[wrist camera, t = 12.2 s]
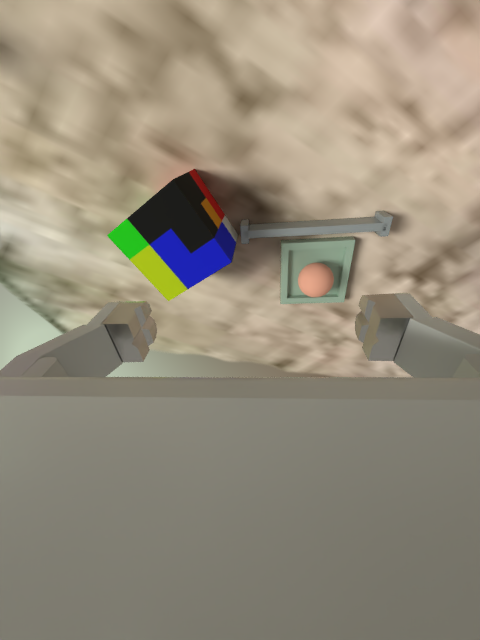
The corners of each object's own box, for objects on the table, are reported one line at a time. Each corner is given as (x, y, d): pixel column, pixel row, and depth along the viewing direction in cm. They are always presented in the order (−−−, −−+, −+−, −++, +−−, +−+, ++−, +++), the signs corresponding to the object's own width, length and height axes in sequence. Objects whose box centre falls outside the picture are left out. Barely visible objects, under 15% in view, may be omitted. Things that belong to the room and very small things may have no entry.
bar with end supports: (241, 219, 36) (240, 225, 34) (383, 210, 34) (393, 216, 32) (242, 236, 37) (241, 243, 35) (379, 229, 36) (388, 236, 33)
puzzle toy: (238, 234, 37) (231, 262, 29) (186, 268, 41) (168, 301, 33) (194, 168, 33) (172, 179, 25) (141, 213, 37) (107, 235, 29)
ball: (297, 257, 38) (300, 272, 34) (332, 256, 37) (339, 271, 33) (296, 286, 41) (298, 303, 37) (328, 286, 40) (334, 303, 36)
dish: (280, 240, 37) (281, 243, 36) (352, 236, 36) (355, 239, 35) (280, 299, 43) (280, 303, 42) (341, 297, 42) (343, 302, 41)
